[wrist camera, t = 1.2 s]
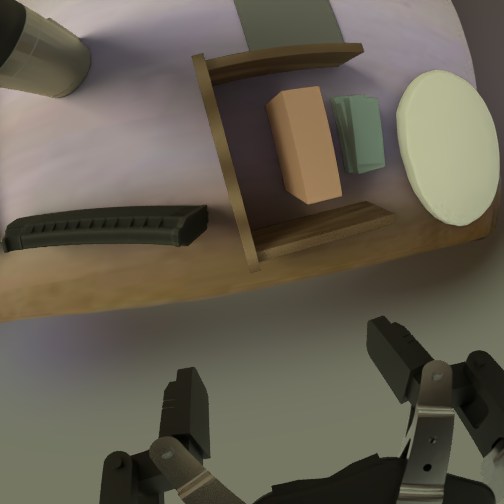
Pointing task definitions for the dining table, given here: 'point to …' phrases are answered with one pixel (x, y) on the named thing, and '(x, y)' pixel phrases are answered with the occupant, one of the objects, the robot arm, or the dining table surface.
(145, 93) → the dining table surface
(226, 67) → the walnut rack
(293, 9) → the charcoal mat
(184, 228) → the magazine
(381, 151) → the offcut stack
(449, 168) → the plate
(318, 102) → the tan block
